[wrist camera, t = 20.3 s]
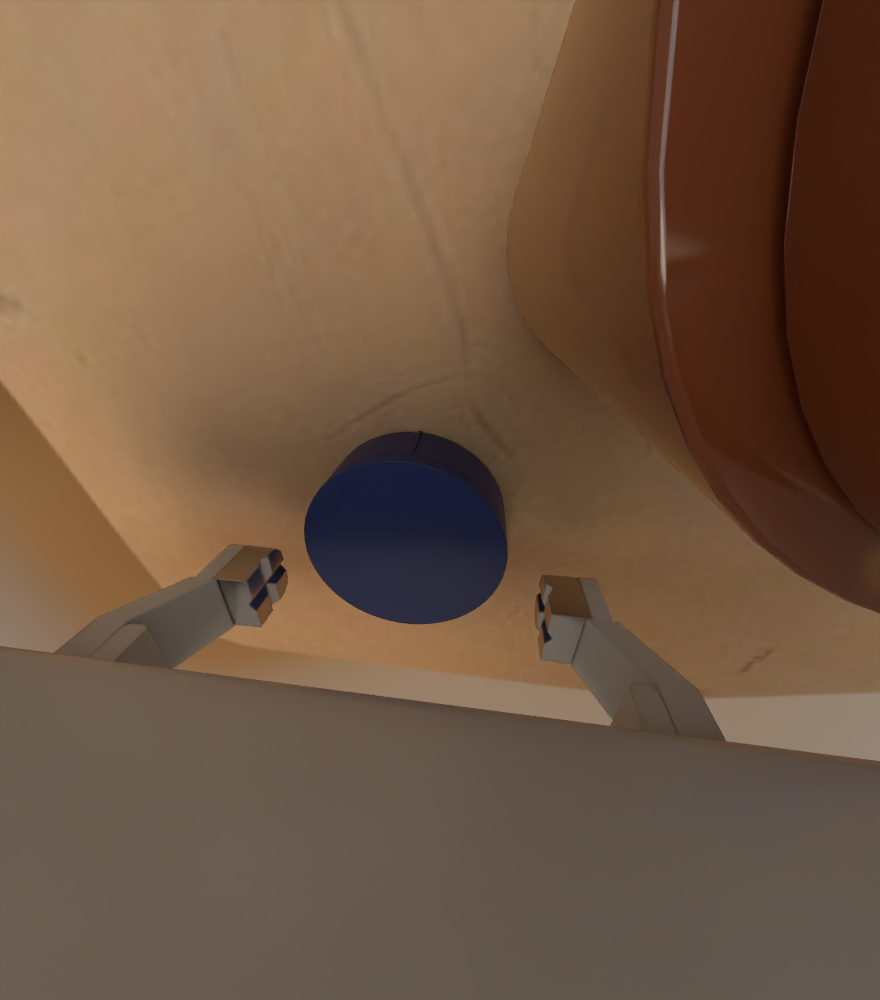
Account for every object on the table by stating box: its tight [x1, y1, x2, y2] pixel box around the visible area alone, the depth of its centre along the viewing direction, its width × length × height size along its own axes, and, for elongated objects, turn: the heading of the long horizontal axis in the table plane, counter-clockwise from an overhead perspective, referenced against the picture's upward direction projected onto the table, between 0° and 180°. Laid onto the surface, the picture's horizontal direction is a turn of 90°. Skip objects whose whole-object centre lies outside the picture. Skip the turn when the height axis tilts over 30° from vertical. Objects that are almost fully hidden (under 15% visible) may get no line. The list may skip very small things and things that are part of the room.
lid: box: [304, 431, 508, 624], centre depth 12 cm, size 6×6×2 cm
